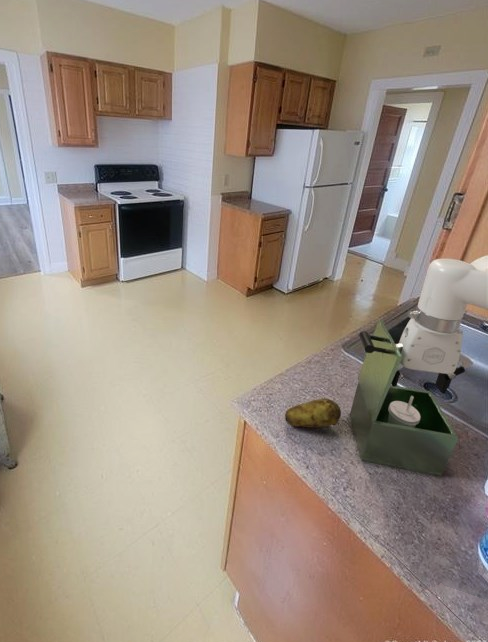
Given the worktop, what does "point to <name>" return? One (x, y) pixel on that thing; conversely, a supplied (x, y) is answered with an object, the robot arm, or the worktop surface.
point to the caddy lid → (377, 367)
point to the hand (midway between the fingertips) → (415, 385)
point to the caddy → (404, 433)
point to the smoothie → (403, 414)
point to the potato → (314, 413)
